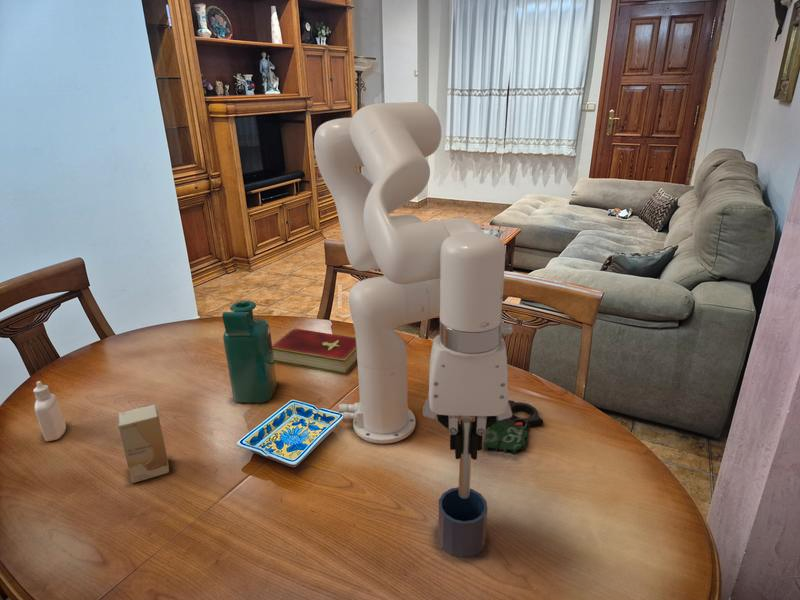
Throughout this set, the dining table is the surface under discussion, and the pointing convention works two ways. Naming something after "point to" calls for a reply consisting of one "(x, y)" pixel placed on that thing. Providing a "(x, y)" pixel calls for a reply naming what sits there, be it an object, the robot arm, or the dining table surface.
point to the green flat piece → (512, 430)
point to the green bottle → (249, 354)
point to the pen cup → (462, 523)
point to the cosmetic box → (143, 443)
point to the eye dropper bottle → (48, 413)
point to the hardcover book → (316, 351)
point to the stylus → (465, 457)
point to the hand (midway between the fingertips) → (465, 452)
